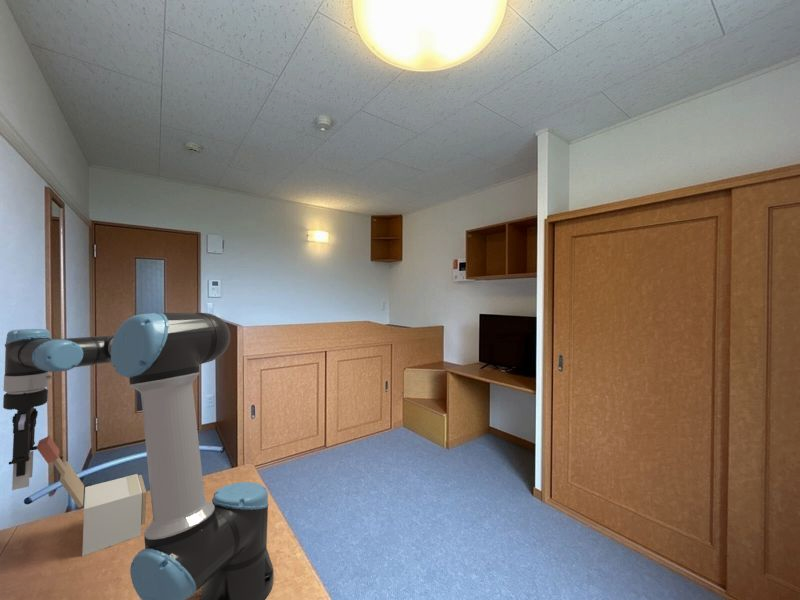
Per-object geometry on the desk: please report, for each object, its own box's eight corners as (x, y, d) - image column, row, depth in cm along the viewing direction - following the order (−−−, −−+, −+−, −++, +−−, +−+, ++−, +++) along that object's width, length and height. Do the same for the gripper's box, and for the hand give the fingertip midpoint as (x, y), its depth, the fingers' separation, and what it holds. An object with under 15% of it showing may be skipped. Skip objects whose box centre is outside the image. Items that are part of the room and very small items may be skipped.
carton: (145, 534, 96) (146, 491, 96) (82, 556, 87) (84, 508, 87) (140, 511, 106) (141, 472, 106) (83, 528, 97) (85, 486, 98)
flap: (45, 447, 83) (34, 452, 82) (85, 504, 88) (76, 510, 87) (50, 431, 93) (40, 436, 91) (86, 483, 97) (77, 489, 96)
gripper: (43, 395, 81) (39, 493, 81) (51, 381, 94) (47, 465, 94) (-5, 401, 76) (-9, 504, 75) (10, 385, 89) (7, 473, 89)
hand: (22, 482), depth 85 cm, fingers open, 5 cm apart
